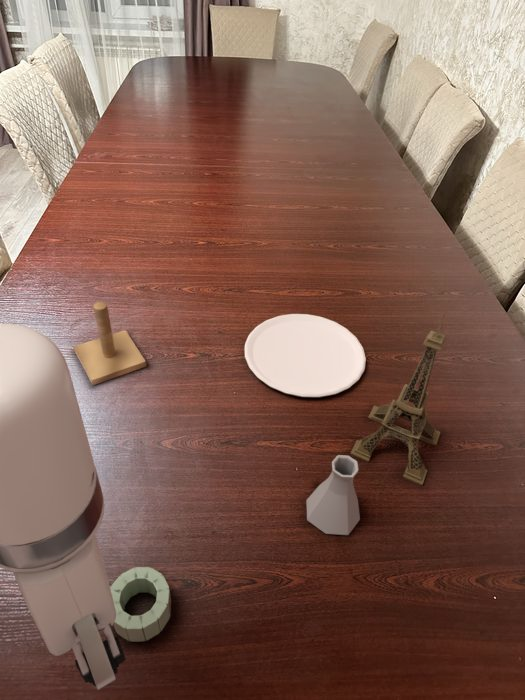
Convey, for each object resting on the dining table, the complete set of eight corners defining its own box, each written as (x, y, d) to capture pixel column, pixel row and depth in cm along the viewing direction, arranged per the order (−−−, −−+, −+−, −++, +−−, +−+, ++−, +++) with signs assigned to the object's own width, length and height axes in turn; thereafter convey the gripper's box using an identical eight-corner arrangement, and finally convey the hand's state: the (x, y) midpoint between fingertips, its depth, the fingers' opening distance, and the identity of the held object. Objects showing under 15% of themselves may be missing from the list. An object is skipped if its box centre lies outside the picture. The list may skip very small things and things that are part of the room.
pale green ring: (124, 654, 54) (120, 641, 52) (103, 599, 58) (98, 585, 56) (180, 620, 57) (179, 607, 55) (156, 571, 61) (154, 556, 58)
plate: (381, 395, 84) (383, 390, 83) (253, 406, 81) (254, 401, 80) (345, 315, 99) (346, 309, 98) (236, 321, 96) (236, 316, 95)
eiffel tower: (373, 406, 82) (413, 273, 65) (439, 433, 79) (500, 301, 62) (350, 454, 75) (388, 319, 58) (421, 485, 72) (484, 352, 55)
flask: (353, 545, 65) (369, 501, 58) (298, 524, 66) (307, 480, 60) (365, 497, 70) (381, 452, 63) (313, 479, 71) (323, 433, 65)
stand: (92, 385, 82) (80, 331, 74) (74, 351, 87) (61, 297, 80) (146, 366, 86) (139, 313, 78) (126, 334, 91) (118, 282, 84)
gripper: (-50, 430, 36) (15, 549, 48) (6, 673, 26) (71, 750, 37) (60, 392, 39) (95, 512, 51) (149, 594, 29) (169, 688, 40)
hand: (85, 612), depth 44 cm, fingers open, 9 cm apart
